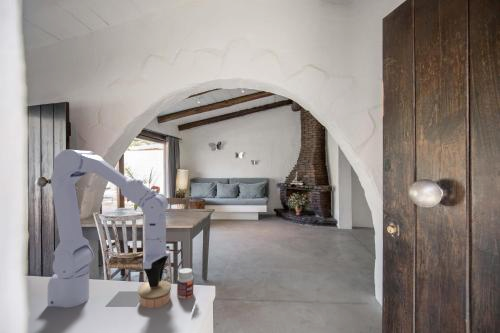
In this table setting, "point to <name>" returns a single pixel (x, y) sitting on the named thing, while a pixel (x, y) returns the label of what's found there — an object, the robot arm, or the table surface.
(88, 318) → the table surface
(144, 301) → the bowl
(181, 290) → the pill bottle
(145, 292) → the lid
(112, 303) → the coaster
